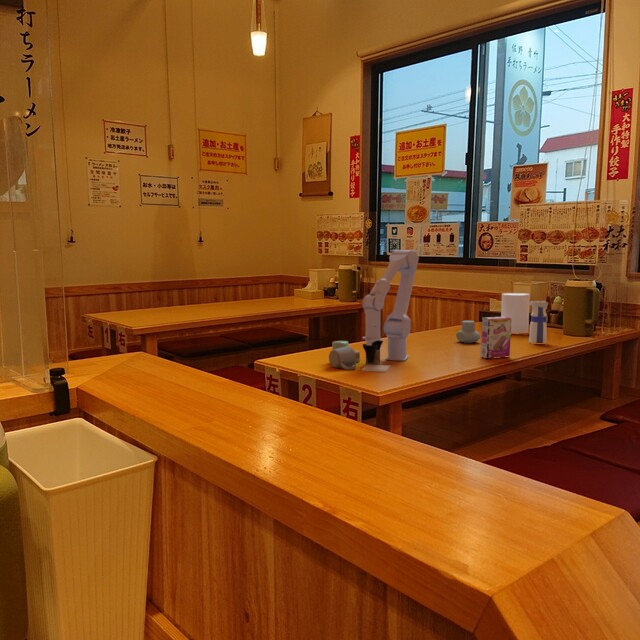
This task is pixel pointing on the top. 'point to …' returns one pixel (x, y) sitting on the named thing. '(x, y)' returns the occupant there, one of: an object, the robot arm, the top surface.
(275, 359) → the top surface
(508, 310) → the canister
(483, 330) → the candy bar box
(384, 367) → the trivet
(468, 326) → the air freshener
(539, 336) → the water bottle
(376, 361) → the walnut block
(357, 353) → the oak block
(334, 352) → the ceramic mug
